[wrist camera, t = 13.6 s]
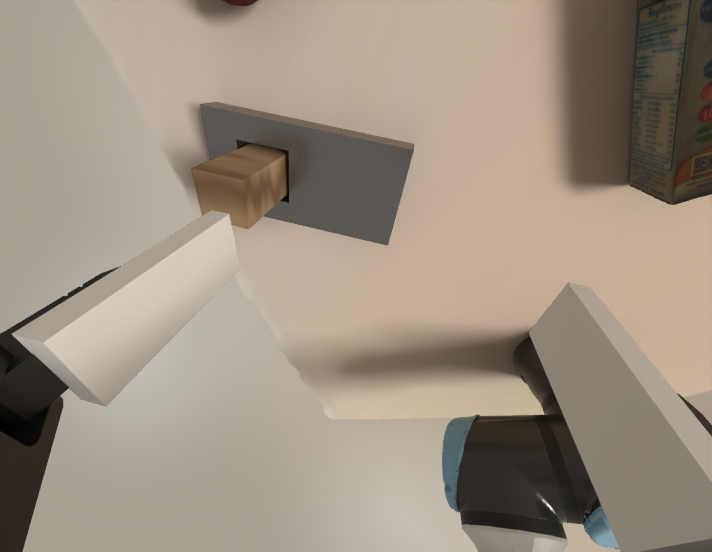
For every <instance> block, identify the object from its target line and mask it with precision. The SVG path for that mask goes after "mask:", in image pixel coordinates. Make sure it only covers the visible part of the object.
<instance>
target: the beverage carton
mask: <svg viewBox="0 0 712 552" xmlns="http://www.w3.org/2000/svg"><path fill="white" fill-rule="evenodd" d="M629 185H630V186H631V187H634V188H636V189H638V190H641V191H642V192H644V193H646V194H648V195H651V196H653V197H654V198H656V199H659V200H661V201H663V202H666V203H667V204H671V205H675V204H679V203H682V202H685V201H689V200H692V199H695V198H699V197H703V196H707V195H710V194H712V0H638V4H637V24H636V40H635V65H634V88H633V108H632V131H631V161H630V184H629Z"/></svg>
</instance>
